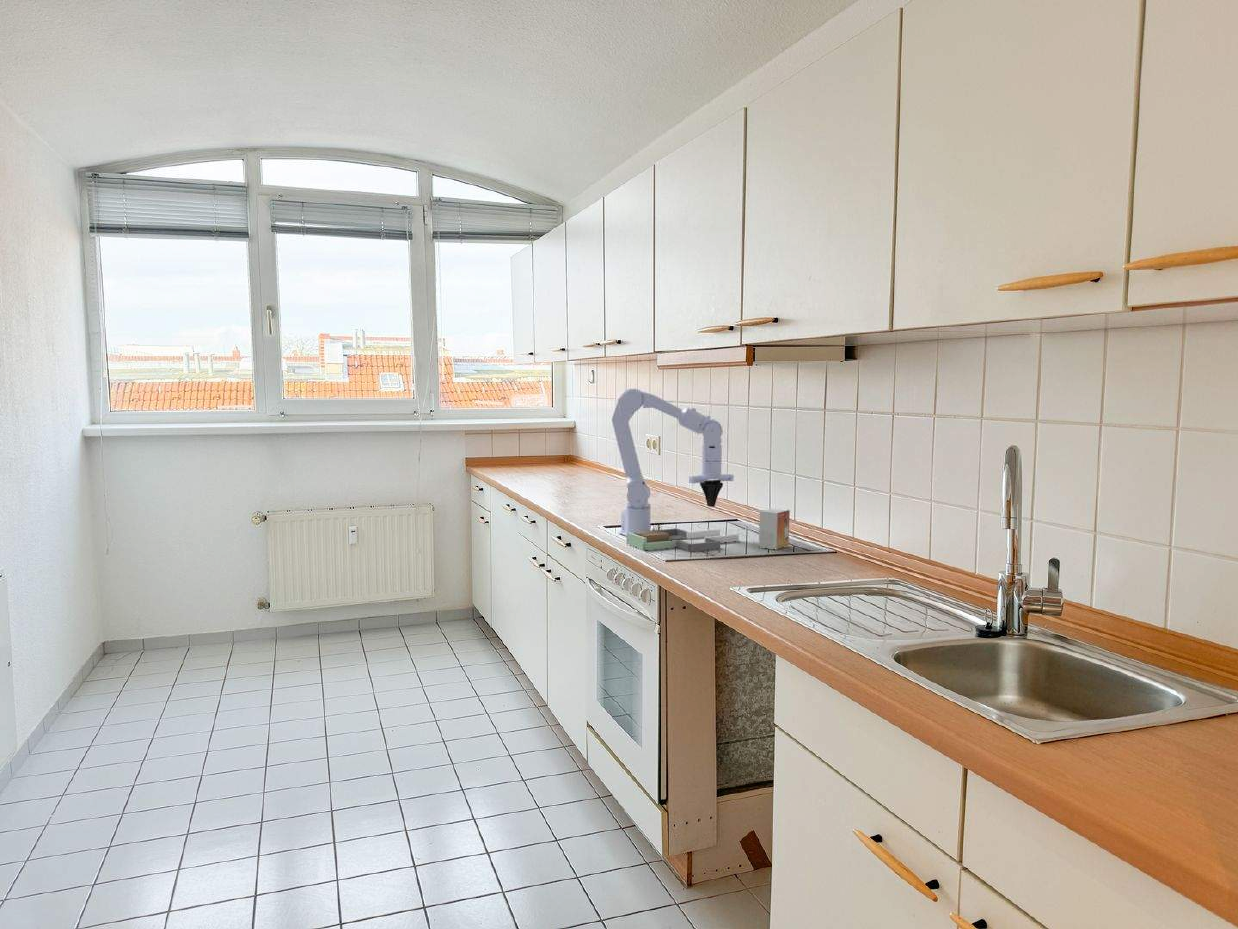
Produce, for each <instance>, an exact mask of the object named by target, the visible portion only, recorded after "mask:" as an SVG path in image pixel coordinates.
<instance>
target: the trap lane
mask: <svg viewBox="0 0 1238 929" xmlns="http://www.w3.org/2000/svg"><path fill="white" fill-rule="evenodd" d="M654 530H655V529H654ZM654 530H653V529H652V531H654ZM658 530H659V531H663V532H666V533H669V541H663V542H652V543H647V538H645V537H642V536H639V535H636V534H633V533H630V532H627V536H626V545H627V544H629V545H631V546H630V547H632V546H635V547H638V548H640V549H642V550H641V551H643V550H649V551H654V550H653V549H658V550H666V549H665V548H668V549H675V548H674V547H678V548H677V549H679V548H680V549H679V550H683V551H686V552H689V553H691V552H692V553H693V552H700V551H710V550H718V549H719V550H720V549H721V544H723V543H724V542H727V543H734V541H736V542H739V533H738V534H737V533H736V534H726V535H720V533H721V530H720V528H717V529H716V528H715V529H714V528H713V529H706V530H694V531H693V530H692V531H687V530H683V529H680V528H676V527H675V528H664V529H658ZM699 538H700V539H702V538H703V539H704V540H703V542H698V543H697V542H695V543H687V542H684V541H681V540H689V539H699ZM671 540H672V541H671ZM724 544H725V543H724ZM629 545H628V546H629ZM635 547H634V548H635ZM640 549H639V550H640Z"/></svg>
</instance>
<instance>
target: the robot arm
mask: <svg viewBox="0 0 1238 929" xmlns="http://www.w3.org/2000/svg"><path fill="white" fill-rule="evenodd" d="M640 408H642V409H655V410H656V411H657V410H658V411H660V412H661V413H664V414H666V415H669V416H671V417H673V418H675V419H677V421H678V424H679V426H681V427H683V428H685V429H688V430H689V431H692V432H694V433H696V434H698V435H699V434H702V436H703V443H702V445H701V446H702V450H701V455H702V456H701V474H699V475H698V474H697V475H692V476H691V475H690V476H688V483H689V484H699V486H700V488H701V489H702V492H703V494H704V497H705V501H706V506H707V507H711V508H713V507H716V502H717V499H718V496H719V495H720V494H719V493H720V491H721V490H722V488H723V486H724V483H723V482H734V476H735V475H734V474H731V473H729V474H728V473H726V474H725V473H723V474H722V461H723V460H722V458H723V457H722V453H723V452H722V450H723V448H722V446H723V445H722V436H723V432H724V431H723V428H722V425H721V423H720V422H719V421H717V420H716V419H711V416H710V415H705V414H702V413H700V412H698V411H697V408H694V407H691V408H690V407H685V408H683V409H682V408H680V407H679V406H677V405H675V404H673V403H671V402H668V401H666V400H665V399H663V398H661V397H659V396H658V395H655V394H652V393H649V392H647V391H642V390H640V389H638V388H629V389H628V388H627V389H626V390H624V391H623V393H622V394H621V395H620V397H619V398H618V399H617V403H616V405H615V409H614V411H613V415H612V418H611V422H612V427H613V431H614V434H615V438H616V442H617V446H618V450H619V454H620V459H621V461H622V466H623V469H624V473H625V478H626V480H625V481H626V486H627V493H626V499H627V501H628V503H626V506H624V507H623V508H622V511H621V526H620V528H621V531H618V534H619V535H622V534H623V535H622V536H625V537H627V532H630V533H633V534H634V532H642V531H651V504H650V503H649V502H648V501H649V498H650V497H651V490H650V487H649V486H648V485H647V484H646V481H645V479H644V476H643V473H642V471H641V467H640V463H639V459H638V454H637V451H636V447H635V446H636V445H635V441H634V439H633V436H632V431H631V427H630V423H629V422H630V421H631V419H632V417H634V414H635V413H636V412H637V411H638V410H639V409H640Z"/></svg>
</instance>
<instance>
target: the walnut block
mask: <svg viewBox="0 0 1238 929" xmlns="http://www.w3.org/2000/svg"><path fill="white" fill-rule="evenodd" d="M659 530H660V529H656V530H655V529H654V531H653V530H650V531H642V532H634V534H636V535H639V536H642V537H645V538H647V543H652V542H663V541H669V533H666V532H663V531H659Z"/></svg>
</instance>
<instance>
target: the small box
mask: <svg viewBox="0 0 1238 929" xmlns="http://www.w3.org/2000/svg"><path fill="white" fill-rule="evenodd" d="M790 517H791V516H790V509H783V508H774V507H772V508H768V509H766V510H760V511H759V523H758V524H759V527H758V528H759V530H758V532H759V535H758V543H759V544H758V548H759V547H760V548H759V549H765V548H767V550H773V549H775V551H777V550H780V549H782V548H781V547H784V546H788V545H790V544H789V541H790V539H789V538H790ZM788 547H789V546H788ZM779 548H780V549H779ZM784 548H785V547H784Z"/></svg>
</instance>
